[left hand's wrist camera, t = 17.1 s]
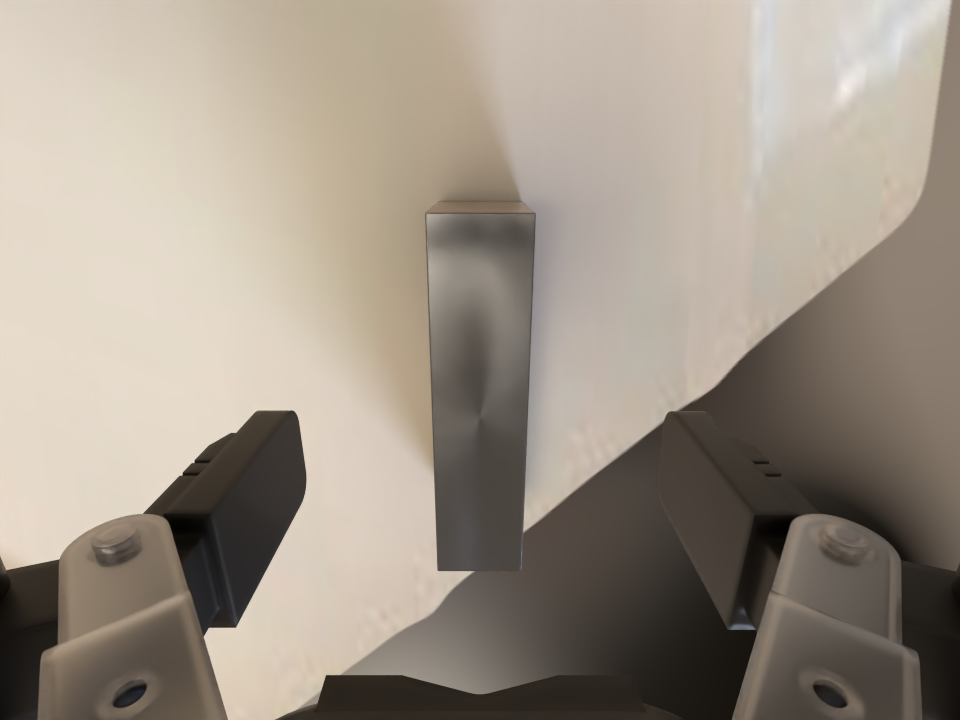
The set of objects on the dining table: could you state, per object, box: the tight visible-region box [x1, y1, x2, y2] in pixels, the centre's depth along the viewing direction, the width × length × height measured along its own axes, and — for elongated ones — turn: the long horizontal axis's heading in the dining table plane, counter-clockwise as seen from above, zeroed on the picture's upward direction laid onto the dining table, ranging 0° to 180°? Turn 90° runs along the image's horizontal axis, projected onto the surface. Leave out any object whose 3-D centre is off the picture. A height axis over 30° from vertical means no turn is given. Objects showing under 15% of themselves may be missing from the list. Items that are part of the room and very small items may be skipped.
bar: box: [425, 201, 536, 571], centre depth 34 cm, size 23×6×9 cm, turn 0°
